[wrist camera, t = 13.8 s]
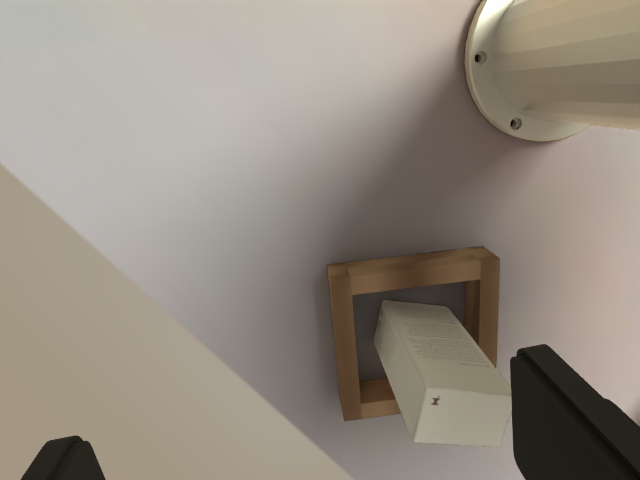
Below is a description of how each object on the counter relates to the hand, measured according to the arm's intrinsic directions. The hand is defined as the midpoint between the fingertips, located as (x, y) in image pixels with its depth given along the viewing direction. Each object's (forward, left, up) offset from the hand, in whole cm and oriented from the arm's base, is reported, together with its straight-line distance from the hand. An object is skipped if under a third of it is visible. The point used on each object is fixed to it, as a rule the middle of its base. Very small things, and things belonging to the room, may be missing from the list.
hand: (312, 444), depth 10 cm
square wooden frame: (-9, +13, -26) cm, 30 cm away
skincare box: (-9, +13, -26) cm, 30 cm away
